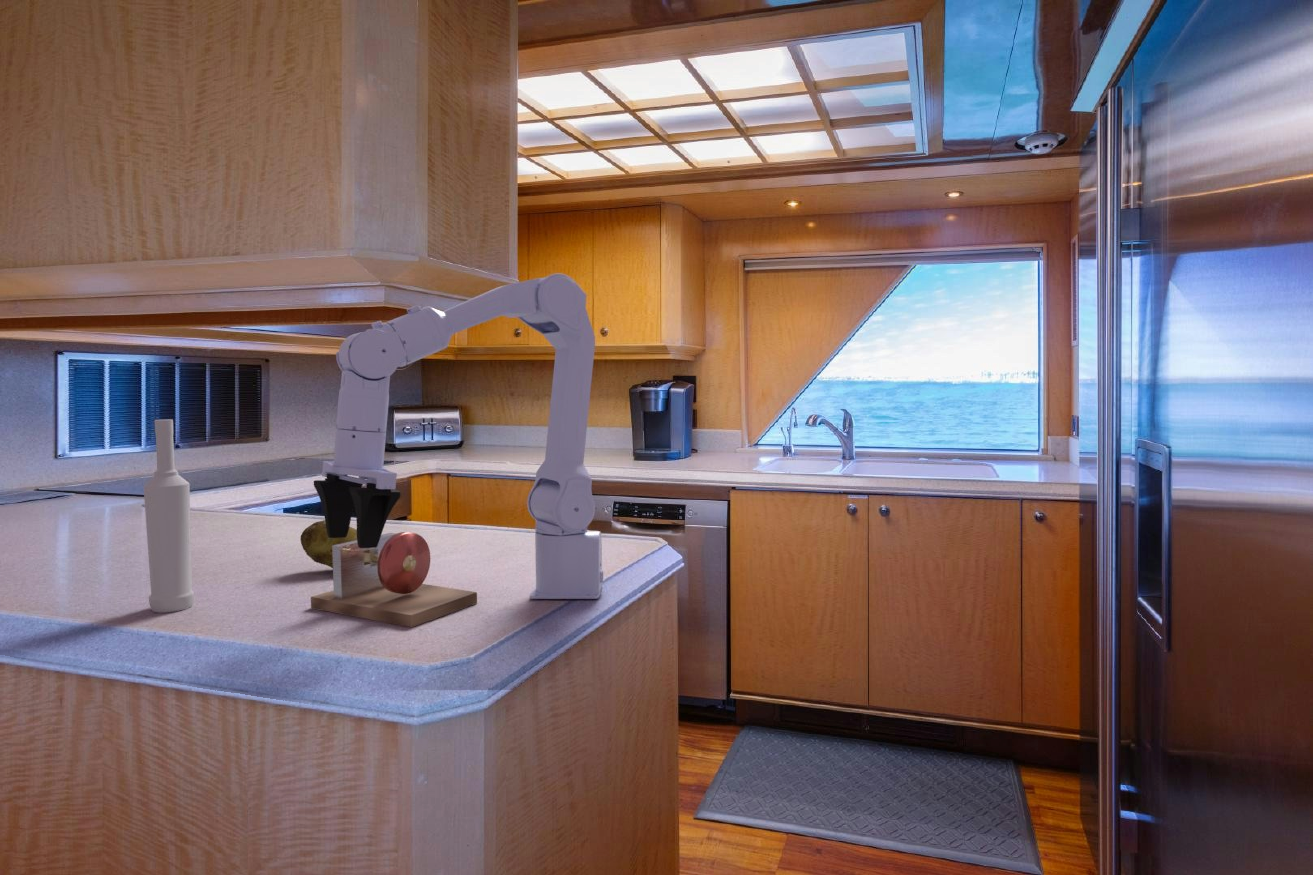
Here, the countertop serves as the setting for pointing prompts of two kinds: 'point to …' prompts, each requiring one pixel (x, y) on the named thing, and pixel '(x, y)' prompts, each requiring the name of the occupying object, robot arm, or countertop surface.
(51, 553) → the countertop surface
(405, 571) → the copper disc on rod
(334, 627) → the countertop surface
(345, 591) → the eye plate
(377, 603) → the base board
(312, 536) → the potato
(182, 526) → the bottle
